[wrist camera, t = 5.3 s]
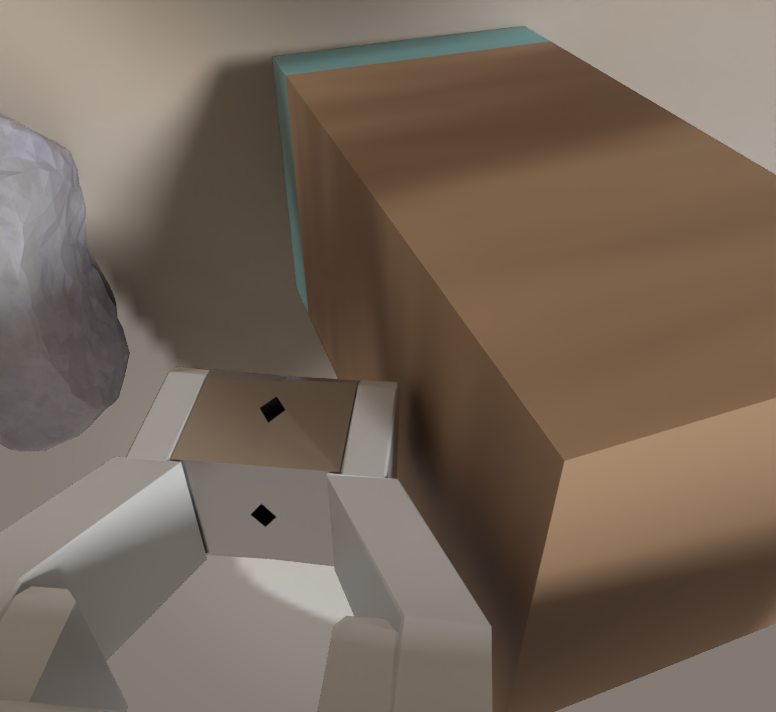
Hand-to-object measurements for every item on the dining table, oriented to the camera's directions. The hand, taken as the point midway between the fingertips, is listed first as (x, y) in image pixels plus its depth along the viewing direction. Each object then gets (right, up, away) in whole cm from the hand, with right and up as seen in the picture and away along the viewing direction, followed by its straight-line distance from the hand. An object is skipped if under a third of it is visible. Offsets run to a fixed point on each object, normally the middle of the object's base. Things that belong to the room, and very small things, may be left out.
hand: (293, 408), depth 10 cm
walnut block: (+2, +5, +5) cm, 7 cm away
